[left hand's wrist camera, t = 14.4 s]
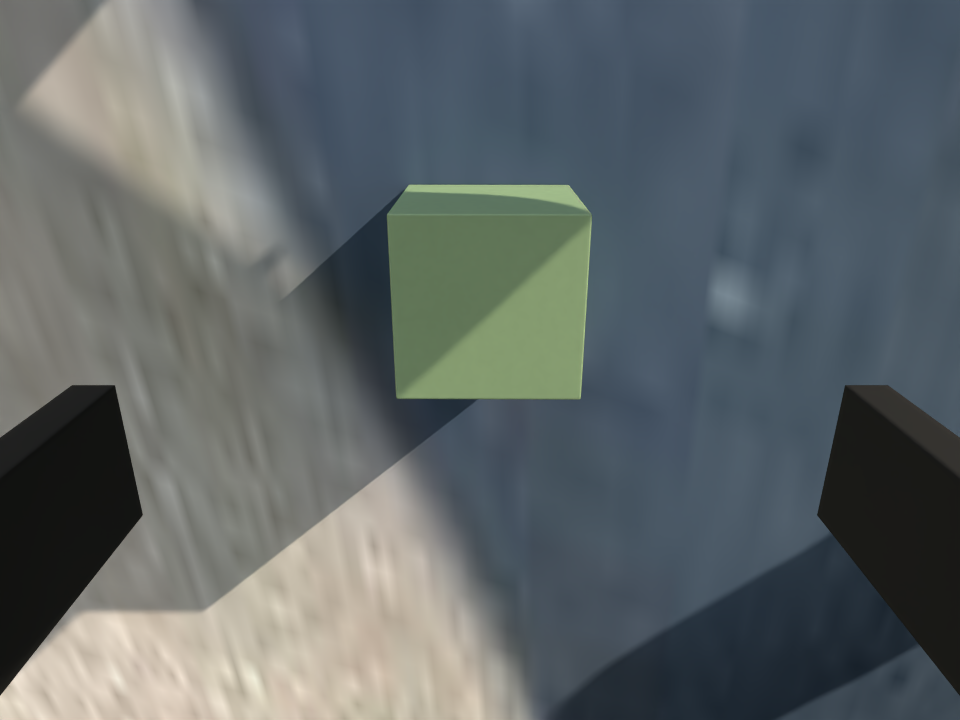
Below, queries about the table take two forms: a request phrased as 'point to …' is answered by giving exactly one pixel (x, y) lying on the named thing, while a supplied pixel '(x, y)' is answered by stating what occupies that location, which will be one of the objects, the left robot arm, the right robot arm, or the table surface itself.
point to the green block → (488, 291)
